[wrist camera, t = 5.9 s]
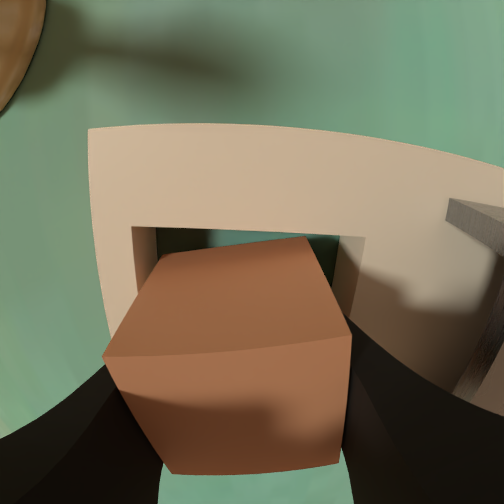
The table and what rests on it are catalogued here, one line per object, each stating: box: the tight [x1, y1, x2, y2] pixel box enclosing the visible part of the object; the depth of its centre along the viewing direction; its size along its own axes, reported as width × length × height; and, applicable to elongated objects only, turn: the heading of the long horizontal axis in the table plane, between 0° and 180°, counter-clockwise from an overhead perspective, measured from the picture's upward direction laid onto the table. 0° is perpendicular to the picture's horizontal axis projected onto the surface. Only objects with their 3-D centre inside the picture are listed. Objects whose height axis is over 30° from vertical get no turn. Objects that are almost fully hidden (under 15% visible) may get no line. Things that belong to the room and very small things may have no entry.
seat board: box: [88, 123, 504, 394], centre depth 11 cm, size 12×20×2 cm, turn 87°
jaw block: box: [102, 236, 352, 475], centre depth 8 cm, size 4×4×5 cm
